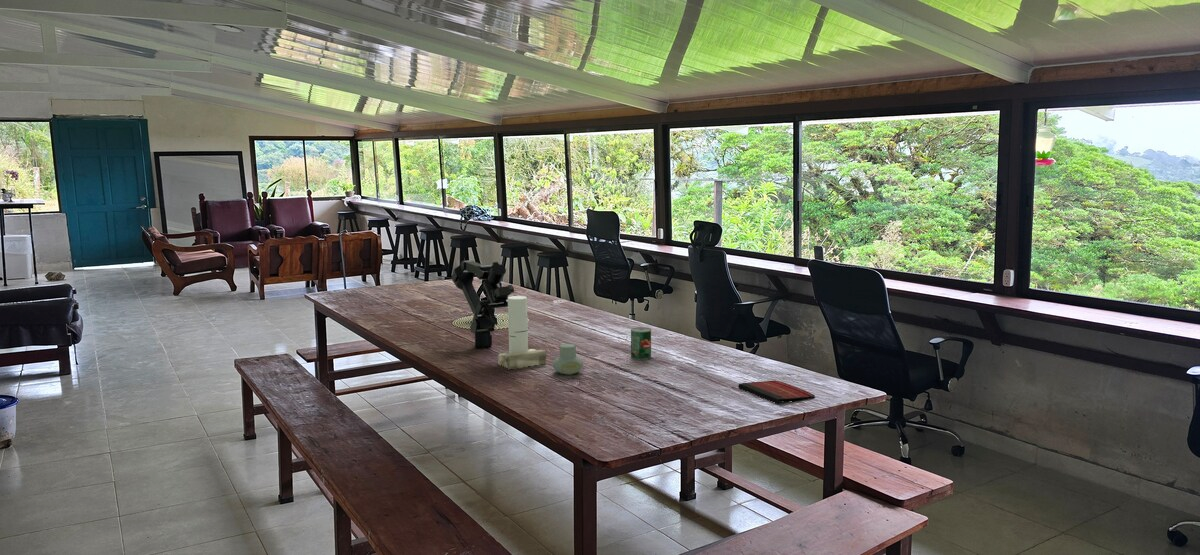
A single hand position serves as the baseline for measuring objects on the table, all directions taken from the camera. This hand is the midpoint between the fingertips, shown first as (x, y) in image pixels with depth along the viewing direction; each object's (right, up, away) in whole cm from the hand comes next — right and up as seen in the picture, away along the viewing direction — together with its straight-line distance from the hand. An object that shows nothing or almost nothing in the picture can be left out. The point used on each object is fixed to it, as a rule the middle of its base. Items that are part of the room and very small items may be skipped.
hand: (507, 322), depth 315 cm
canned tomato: (+51, -14, +2) cm, 53 cm away
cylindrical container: (+5, -15, -5) cm, 16 cm away
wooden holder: (+6, -15, -7) cm, 18 cm away
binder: (+93, -21, -46) cm, 106 cm away
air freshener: (+24, -17, -19) cm, 35 cm away
